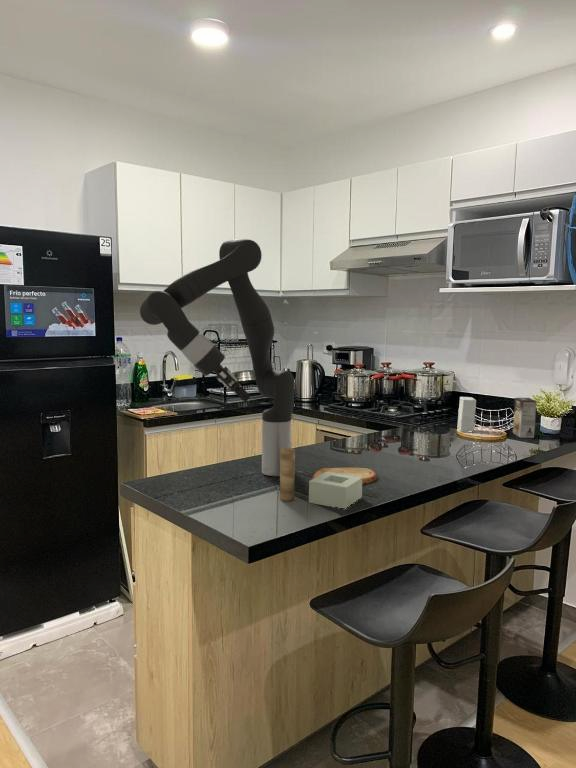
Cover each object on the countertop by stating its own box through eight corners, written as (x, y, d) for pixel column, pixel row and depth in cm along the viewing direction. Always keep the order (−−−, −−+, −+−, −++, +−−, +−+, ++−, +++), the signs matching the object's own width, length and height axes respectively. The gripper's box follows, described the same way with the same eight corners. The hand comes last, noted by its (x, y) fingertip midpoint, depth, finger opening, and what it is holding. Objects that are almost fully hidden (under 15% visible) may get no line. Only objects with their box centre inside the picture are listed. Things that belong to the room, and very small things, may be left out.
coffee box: (511, 433, 255) (514, 397, 253) (526, 433, 255) (528, 397, 253) (519, 437, 246) (522, 400, 244) (534, 438, 246) (537, 400, 244)
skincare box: (456, 428, 263) (458, 396, 261) (470, 429, 263) (472, 396, 261) (460, 432, 255) (462, 399, 253) (474, 432, 255) (476, 399, 253)
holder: (326, 491, 167) (326, 471, 166) (361, 498, 161) (362, 477, 161) (308, 502, 157) (309, 480, 156) (345, 509, 152) (346, 487, 151)
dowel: (284, 495, 163) (285, 447, 161) (296, 498, 161) (297, 448, 159) (277, 499, 159) (277, 449, 157) (289, 502, 157) (290, 451, 156)
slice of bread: (379, 476, 185) (380, 465, 184) (365, 492, 168) (366, 480, 168) (326, 470, 191) (326, 459, 191) (307, 484, 175) (308, 472, 174)
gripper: (215, 345, 144) (259, 390, 148) (211, 342, 158) (252, 384, 161) (193, 366, 144) (238, 411, 147) (191, 361, 157) (233, 403, 161)
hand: (245, 397), depth 154 cm, fingers open, 8 cm apart
